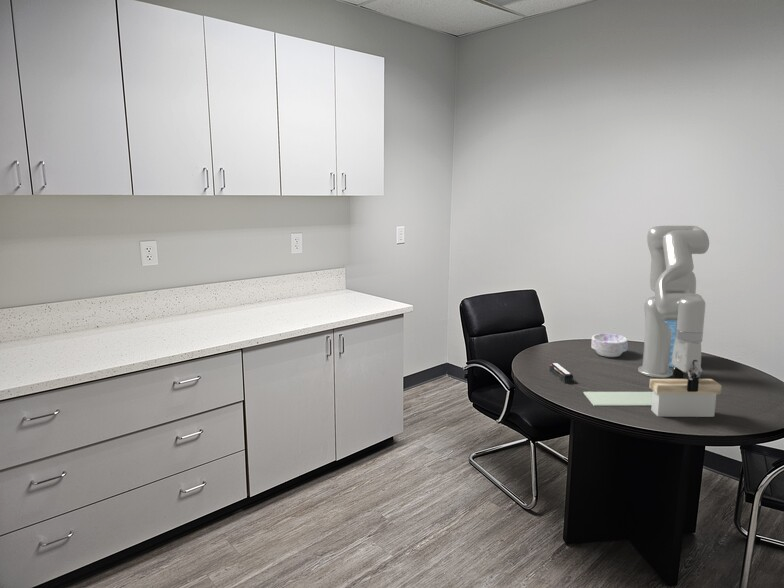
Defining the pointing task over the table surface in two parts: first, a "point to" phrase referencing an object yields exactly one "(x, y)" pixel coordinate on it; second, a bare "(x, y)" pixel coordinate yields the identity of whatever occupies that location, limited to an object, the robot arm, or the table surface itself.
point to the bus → (561, 373)
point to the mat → (620, 398)
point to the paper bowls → (609, 344)
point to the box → (684, 405)
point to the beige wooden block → (683, 386)
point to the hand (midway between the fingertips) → (684, 386)
